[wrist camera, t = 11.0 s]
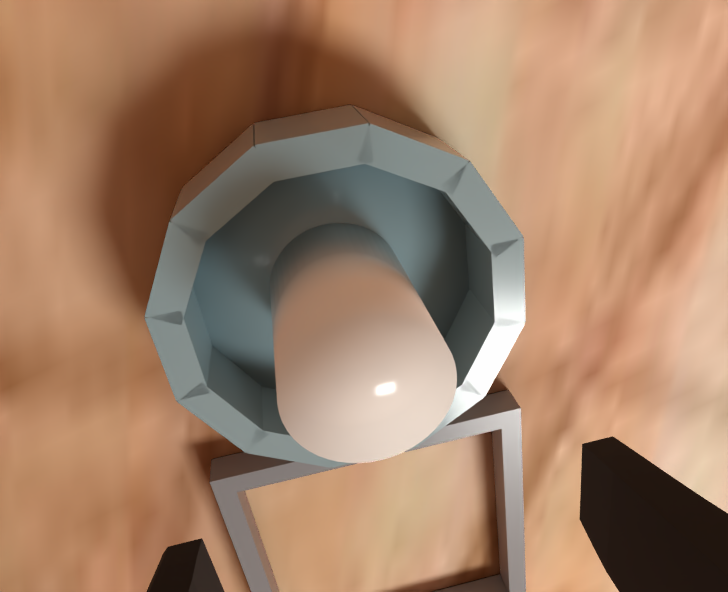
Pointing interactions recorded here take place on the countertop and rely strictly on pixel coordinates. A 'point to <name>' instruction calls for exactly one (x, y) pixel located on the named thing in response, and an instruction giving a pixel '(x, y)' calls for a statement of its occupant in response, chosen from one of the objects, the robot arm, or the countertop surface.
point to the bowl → (305, 211)
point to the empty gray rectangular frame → (257, 471)
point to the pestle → (355, 348)
